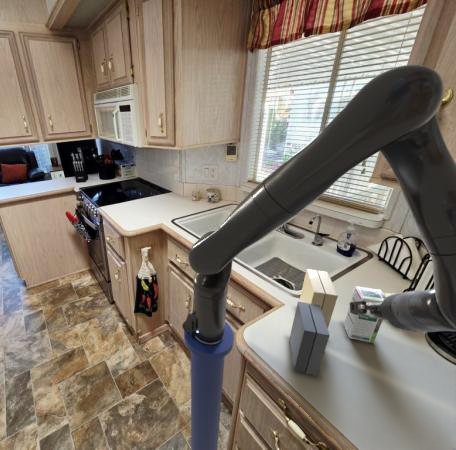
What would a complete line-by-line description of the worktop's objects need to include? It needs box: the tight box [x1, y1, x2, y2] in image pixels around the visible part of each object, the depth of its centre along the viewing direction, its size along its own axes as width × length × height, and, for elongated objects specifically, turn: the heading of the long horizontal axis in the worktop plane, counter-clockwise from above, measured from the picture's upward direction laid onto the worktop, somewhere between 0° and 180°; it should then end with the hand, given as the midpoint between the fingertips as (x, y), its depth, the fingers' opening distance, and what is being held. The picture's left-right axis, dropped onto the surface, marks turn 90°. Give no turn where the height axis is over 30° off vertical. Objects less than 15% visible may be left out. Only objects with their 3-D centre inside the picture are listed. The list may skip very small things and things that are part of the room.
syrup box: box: [343, 285, 386, 344], centre depth 69 cm, size 6×6×14 cm
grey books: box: [288, 301, 330, 377], centre depth 63 cm, size 5×10×14 cm, turn 160°
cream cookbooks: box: [298, 268, 339, 330], centre depth 73 cm, size 5×11×16 cm, turn 160°
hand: (374, 313), depth 64 cm, fingers open, 8 cm apart
